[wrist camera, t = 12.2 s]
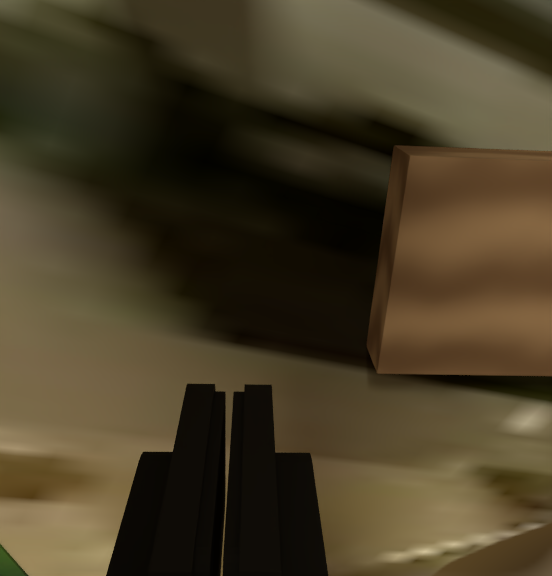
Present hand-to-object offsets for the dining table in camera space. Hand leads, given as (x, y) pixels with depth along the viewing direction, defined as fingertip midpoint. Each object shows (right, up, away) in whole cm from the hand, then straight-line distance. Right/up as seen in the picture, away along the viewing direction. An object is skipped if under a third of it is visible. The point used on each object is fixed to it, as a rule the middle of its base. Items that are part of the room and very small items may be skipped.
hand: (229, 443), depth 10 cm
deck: (+17, +5, +28) cm, 33 cm away
